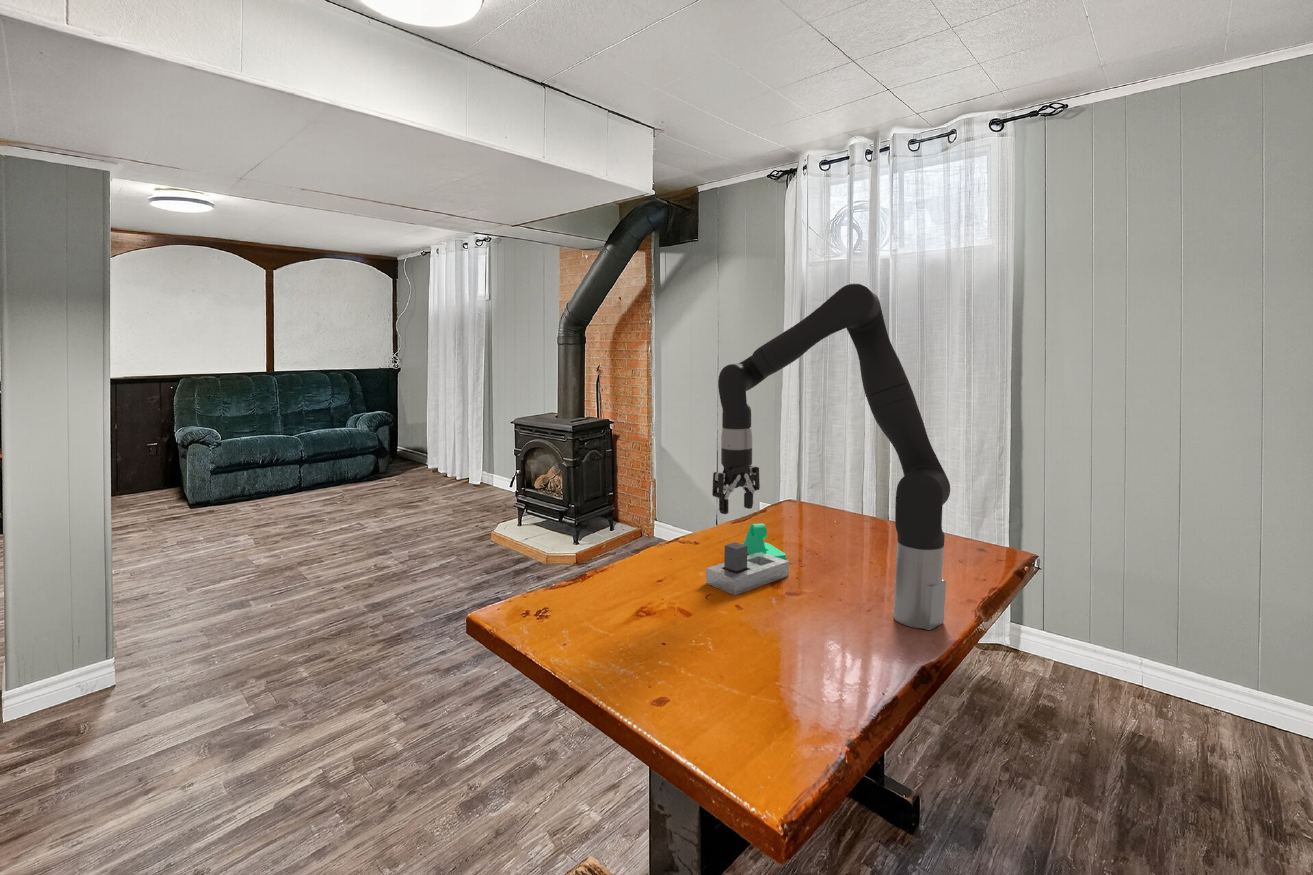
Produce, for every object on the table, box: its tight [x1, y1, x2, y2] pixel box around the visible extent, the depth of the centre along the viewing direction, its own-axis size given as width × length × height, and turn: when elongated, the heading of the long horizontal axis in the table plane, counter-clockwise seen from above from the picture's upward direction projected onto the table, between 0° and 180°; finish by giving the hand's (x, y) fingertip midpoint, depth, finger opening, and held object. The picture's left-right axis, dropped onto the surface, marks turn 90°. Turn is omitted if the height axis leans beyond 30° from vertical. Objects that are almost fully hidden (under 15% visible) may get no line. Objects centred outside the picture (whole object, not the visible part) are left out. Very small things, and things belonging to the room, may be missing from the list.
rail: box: [705, 552, 790, 596], centre depth 160 cm, size 10×20×4 cm, turn 129°
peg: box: [723, 541, 748, 574], centre depth 157 cm, size 4×4×10 cm
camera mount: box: [742, 523, 787, 560], centre depth 177 cm, size 12×8×10 cm, turn 18°
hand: (736, 510), depth 155 cm, fingers open, 8 cm apart
